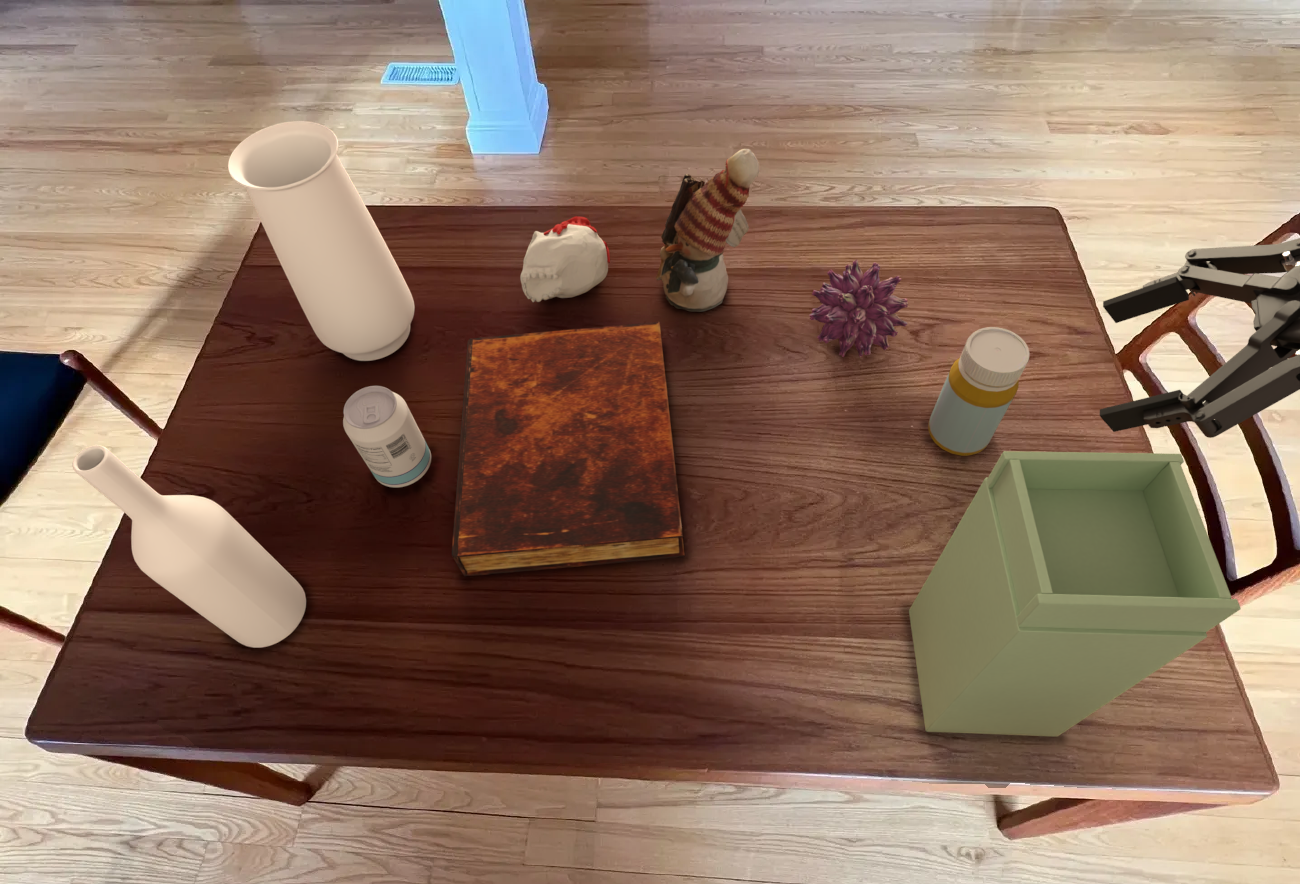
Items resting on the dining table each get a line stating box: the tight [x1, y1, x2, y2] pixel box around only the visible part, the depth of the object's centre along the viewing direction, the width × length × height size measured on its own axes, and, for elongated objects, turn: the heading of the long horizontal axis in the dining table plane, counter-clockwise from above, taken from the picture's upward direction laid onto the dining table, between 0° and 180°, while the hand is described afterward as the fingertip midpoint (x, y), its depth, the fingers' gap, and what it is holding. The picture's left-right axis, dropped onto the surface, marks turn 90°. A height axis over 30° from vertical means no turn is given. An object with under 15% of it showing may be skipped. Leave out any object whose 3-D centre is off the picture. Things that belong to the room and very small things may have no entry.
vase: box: [227, 120, 416, 362], centre depth 94 cm, size 13×13×28 cm
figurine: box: [655, 148, 760, 313], centre depth 99 cm, size 13×12×20 cm
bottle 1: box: [71, 444, 307, 649], centre depth 72 cm, size 8×8×30 cm
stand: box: [908, 450, 1242, 738], centre depth 64 cm, size 12×12×30 cm
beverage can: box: [342, 385, 432, 488], centre depth 89 cm, size 7×7×12 cm
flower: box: [808, 259, 909, 358], centre depth 96 cm, size 12×12×12 cm
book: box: [451, 321, 686, 577], centre depth 91 cm, size 30×24×5 cm
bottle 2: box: [927, 326, 1030, 457], centre depth 86 cm, size 7×7×15 cm
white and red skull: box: [519, 215, 611, 303], centre depth 106 cm, size 9×11×15 cm
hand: (1107, 364), depth 76 cm, fingers open, 13 cm apart
